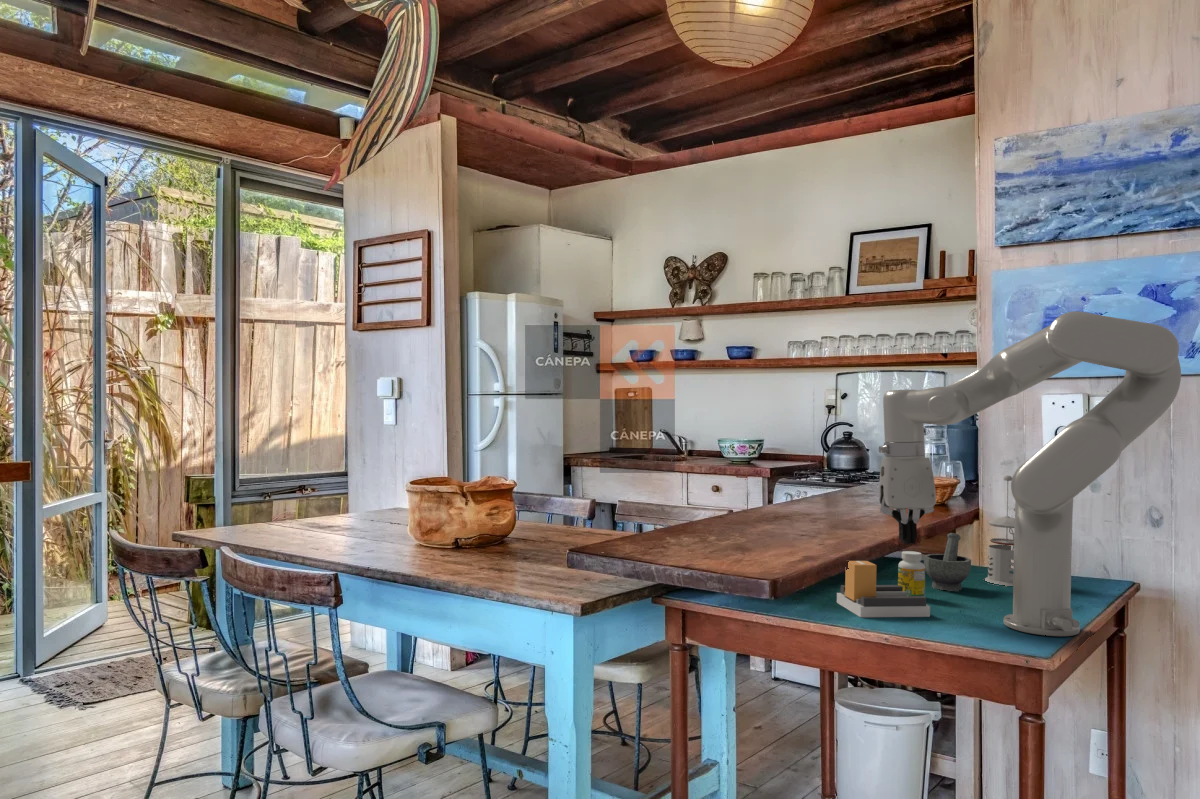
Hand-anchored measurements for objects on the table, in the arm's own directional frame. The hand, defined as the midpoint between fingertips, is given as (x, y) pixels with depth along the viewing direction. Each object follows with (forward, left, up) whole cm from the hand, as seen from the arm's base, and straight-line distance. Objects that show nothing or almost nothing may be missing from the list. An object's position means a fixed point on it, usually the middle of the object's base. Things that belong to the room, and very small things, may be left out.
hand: (908, 542), depth 171 cm
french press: (+26, -37, -14) cm, 47 cm away
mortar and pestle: (+20, -19, -14) cm, 31 cm away
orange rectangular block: (+1, +9, -11) cm, 15 cm away
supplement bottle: (+11, -6, -14) cm, 18 cm away
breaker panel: (+1, +5, -13) cm, 14 cm away
